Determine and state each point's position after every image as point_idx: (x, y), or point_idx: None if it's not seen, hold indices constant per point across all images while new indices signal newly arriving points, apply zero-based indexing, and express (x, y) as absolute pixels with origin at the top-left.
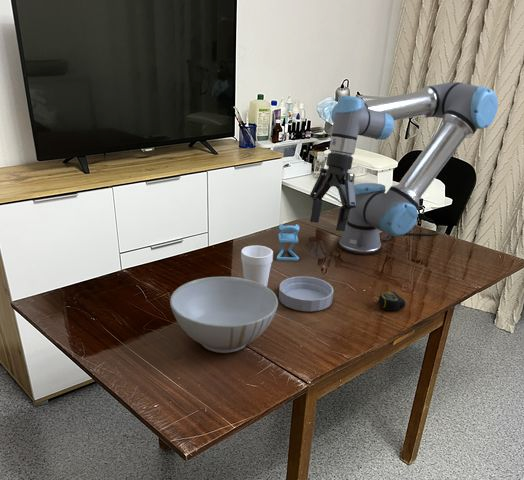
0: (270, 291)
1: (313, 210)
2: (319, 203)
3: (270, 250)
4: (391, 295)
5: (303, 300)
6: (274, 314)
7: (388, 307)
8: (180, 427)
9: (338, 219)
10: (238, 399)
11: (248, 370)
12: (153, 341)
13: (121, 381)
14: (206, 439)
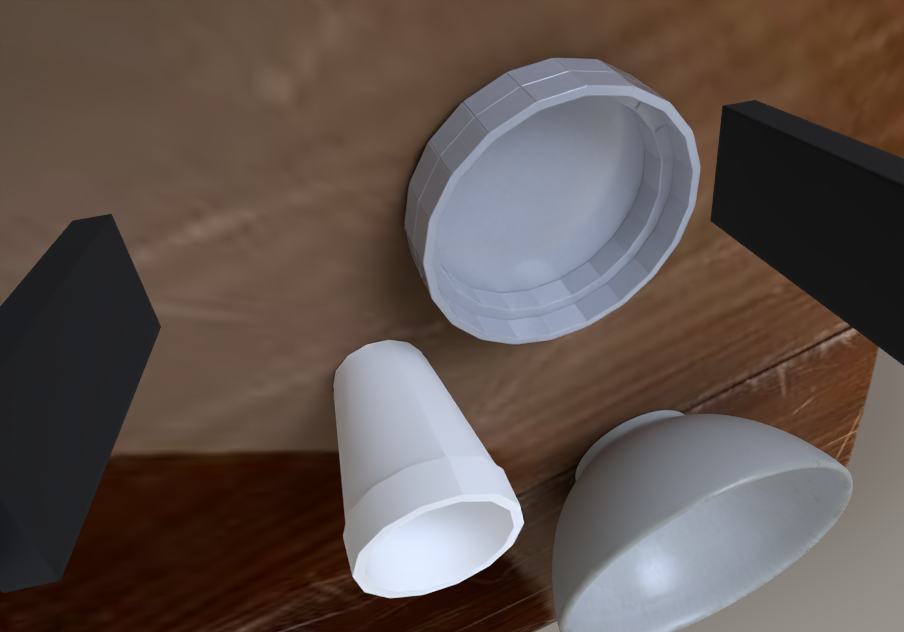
0: (755, 479)
1: (114, 437)
2: (13, 457)
3: (450, 504)
4: None
5: (655, 272)
6: (825, 453)
7: None
8: None
9: (800, 280)
10: (814, 425)
11: (762, 409)
12: None
13: None
14: (843, 459)
